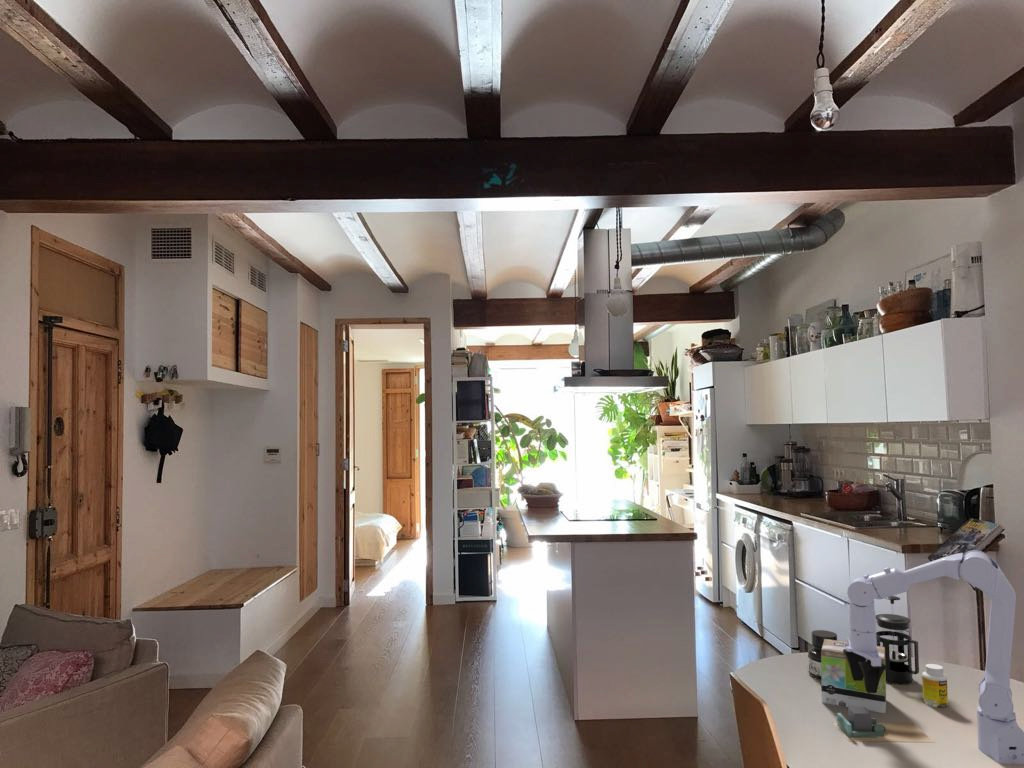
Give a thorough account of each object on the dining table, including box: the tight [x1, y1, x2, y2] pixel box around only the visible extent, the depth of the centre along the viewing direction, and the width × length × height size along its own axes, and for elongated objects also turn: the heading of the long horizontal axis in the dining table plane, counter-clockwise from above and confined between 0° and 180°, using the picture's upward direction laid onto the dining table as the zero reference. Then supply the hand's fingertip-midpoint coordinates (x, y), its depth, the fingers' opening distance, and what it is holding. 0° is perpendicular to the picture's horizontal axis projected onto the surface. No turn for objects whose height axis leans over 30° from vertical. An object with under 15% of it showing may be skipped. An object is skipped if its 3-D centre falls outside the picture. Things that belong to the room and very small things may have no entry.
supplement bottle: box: [921, 663, 949, 709], centre depth 186 cm, size 6×6×10 cm
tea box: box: [820, 639, 887, 714], centre depth 188 cm, size 15×10×15 cm, turn 62°
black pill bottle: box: [807, 629, 838, 680], centre depth 208 cm, size 10×9×12 cm
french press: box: [875, 595, 920, 685], centre depth 205 cm, size 12×9×23 cm
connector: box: [847, 707, 886, 732], centre depth 170 cm, size 4×8×5 cm, turn 87°
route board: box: [832, 712, 935, 743], centre depth 170 cm, size 10×19×4 cm, turn 87°
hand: (864, 686), depth 175 cm, fingers open, 7 cm apart
